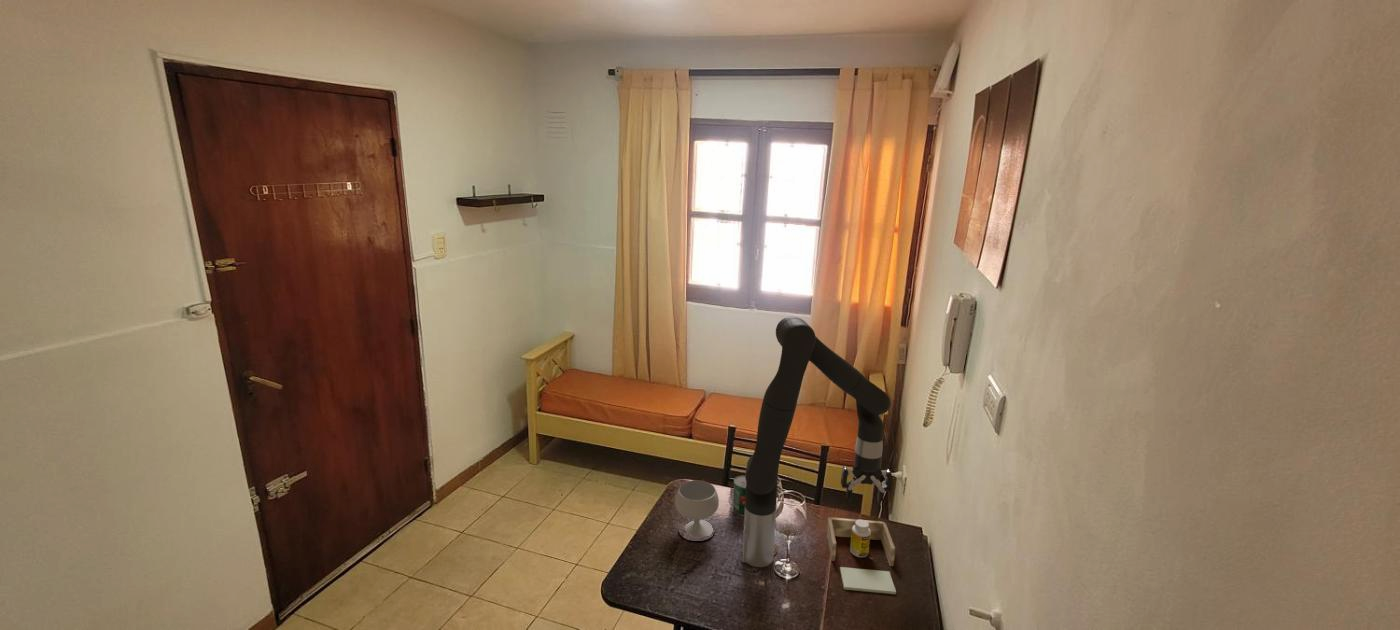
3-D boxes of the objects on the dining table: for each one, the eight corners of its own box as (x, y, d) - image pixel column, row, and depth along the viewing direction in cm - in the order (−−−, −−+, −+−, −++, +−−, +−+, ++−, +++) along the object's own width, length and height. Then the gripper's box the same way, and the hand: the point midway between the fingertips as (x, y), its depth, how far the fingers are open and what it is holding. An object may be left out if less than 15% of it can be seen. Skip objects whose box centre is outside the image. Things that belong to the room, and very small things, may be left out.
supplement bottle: (860, 560, 157) (863, 531, 155) (846, 550, 162) (848, 521, 160) (872, 554, 160) (875, 524, 158) (858, 544, 165) (860, 515, 163)
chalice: (718, 545, 163) (719, 502, 160) (673, 544, 163) (673, 501, 160) (717, 518, 177) (718, 478, 174) (676, 517, 177) (676, 477, 174)
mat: (844, 589, 146) (844, 586, 146) (839, 569, 154) (840, 566, 154) (895, 594, 144) (896, 591, 144) (889, 573, 152) (889, 571, 152)
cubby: (831, 560, 157) (832, 543, 156) (826, 533, 170) (827, 517, 169) (893, 566, 155) (895, 548, 154) (883, 538, 168) (885, 521, 167)
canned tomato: (740, 500, 187) (741, 472, 185) (759, 508, 183) (761, 480, 180) (728, 511, 181) (729, 482, 179) (748, 519, 177) (749, 490, 174)
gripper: (845, 456, 151) (841, 506, 154) (896, 459, 149) (891, 509, 153) (842, 444, 158) (838, 492, 161) (890, 446, 156) (886, 495, 160)
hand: (864, 500), depth 157 cm, fingers open, 8 cm apart
